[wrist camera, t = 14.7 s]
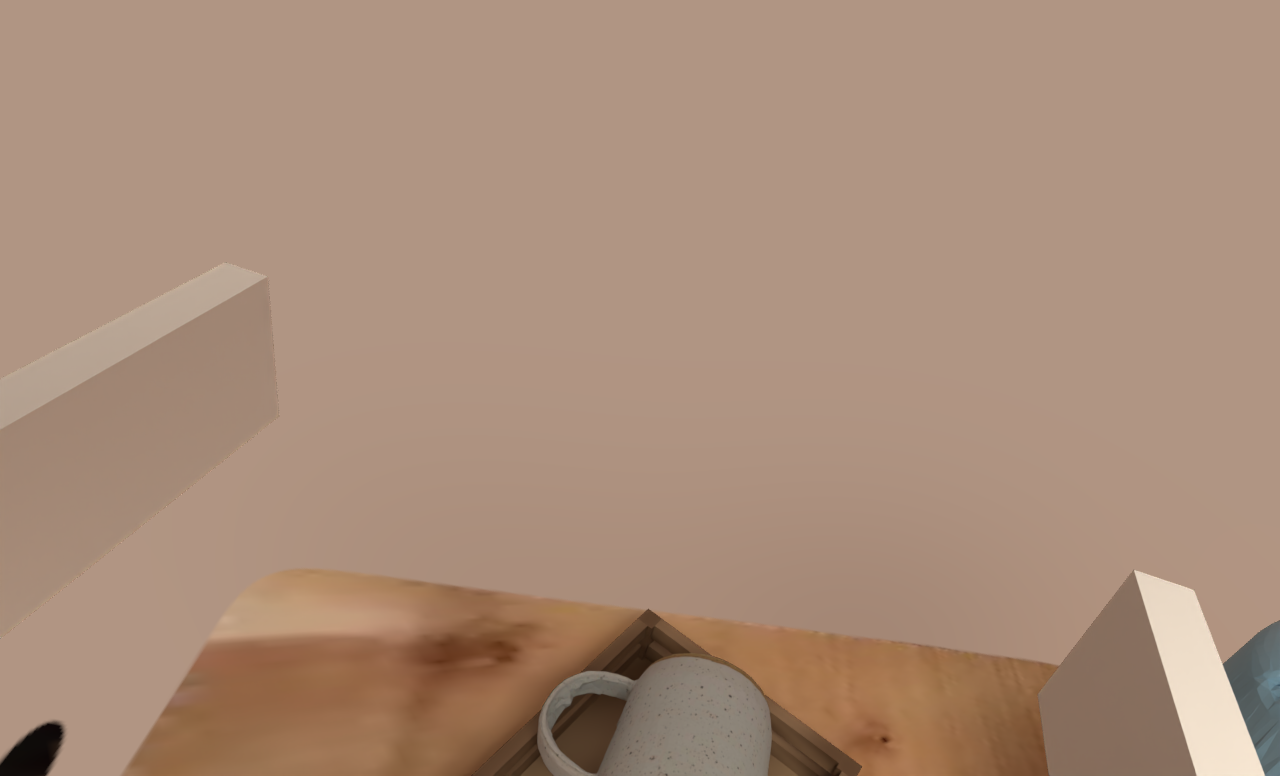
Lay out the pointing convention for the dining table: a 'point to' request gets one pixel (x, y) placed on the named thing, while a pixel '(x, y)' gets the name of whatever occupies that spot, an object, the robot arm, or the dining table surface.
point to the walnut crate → (799, 759)
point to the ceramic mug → (671, 721)
